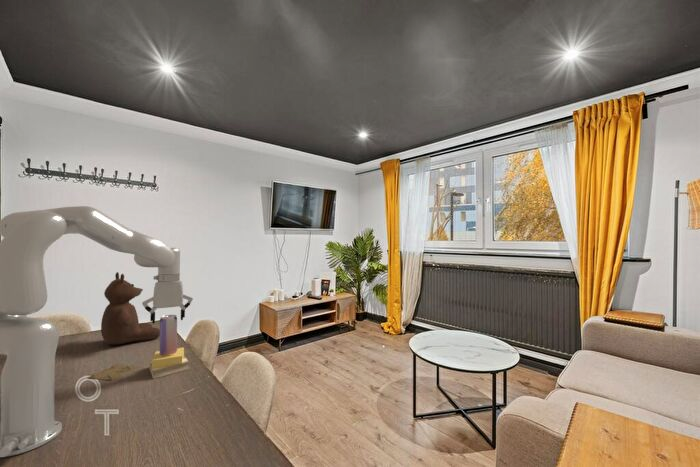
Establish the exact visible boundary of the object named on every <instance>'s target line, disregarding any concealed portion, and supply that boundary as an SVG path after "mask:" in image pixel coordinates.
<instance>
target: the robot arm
mask: <svg viewBox="0 0 700 467" xmlns="http://www.w3.org/2000/svg"><path fill="white" fill-rule="evenodd" d="M68 234H74V235H75V234H77V235H78V234H79V235H82V236H84V237H86V238H87V239H90V240H92V241H94V242H95V243H98V244H100V245H101V246H104V247H106V248H107V249H109V250H111V251H114V252H115V251H116V252H120V253H124V254H130V255H134V256H133V259H134V262H135V264H136V265H138V266H139V267H142V268H143V267H144V268H157V274H156V275H154V276H153V280H154V281H155V280H156V282H155V283H154V289H153V296H152V297H149V298H148V299H146V300H144V301H142V303H141V305H142V306H143V308H144V310H146V311H147V312H149V314H150V319H149V320H150V322H152V323H151V325H153V324H155V322H156V312H155V311H156V310H157V309H167V308H176V307H179V308H181V309H180V321H183V320H184V318H185V317H186V316H185V315H186V309H188V307H189V306H190V305H191V304H192V302H193V300H194V299H193V297H191V296H188V295H186V294H184V290H183V289H184V288H183V287H184V286H183V282H182V281H181V280H180V279H181V276H180V275H181V274H180V273H181V270H180V269H181V249H180V248H179V247H178V248H177V247H170V246H168V245H166V244H165V243H163V242H161V240H158V239H156V238H154V237H152V236H148V235H145V234H144V233H141V232H139V231H136V230H133V229H131V228H129V227H126V226H125V225H123V224H121V223H120V222H118V221H117V220H115V219H114V218H112V217H110V216H109V215H107V214H105V213H104V212H102V211H101V210H99V209H97V208H95V207H91V206H87V205H86V206H84V205H81V206H80V205H79V206H77V205H76V206H64V207H63V206H62V207H56V208H55V207H54V208H47V209H38V210H37V209H36V210H30V211H27V210H26V211H19V212H18V211H17V212H12V213H9V214H6V215H5V216H4V217H3V218H1V220H0V236H1V237H3V239H2V240H1V241H0V355H5V356H6V360H5V362H4V365H3V368H2V370H1V376H0V458H4V457H5V458H6V457H13V456H15V455H19V454H23V453H26V452H30V451H32V450H34V449H37V448H39V447H41V446H43V445H45V444H47V443H49V442H51V441H52V440H53V439H54V438H56V437H57V436H58V435H59V434H60V433H61V432H62V430H63V424H62V422H61V421H58V420H55V382H56V381H55V378H56V377H55V376H56V374H55V368H56V367H55V365H56V364H55V363H56V354H57V349H58V345H59V341H60V330H59V327H58V326H57V325H56V324H55V323H54V322H52V321H50V320H49V319H46V318H40V317H39V318H38V317H30V315H32V314H35V313H37V312H39V311H40V310H42V309H43V308H44V307H45V306H46V305H47V304H46V303H47V302H48V290H47V284H46V276H45V270H44V256H45V255H46V254H45V253H46V252H47V250H48V249H49V248H50V246H51V245H53V244H54V243H55V242H56V241H57V240H60V238H62V236H64V235H68ZM184 299H185V300H187V302H186V303H185V304H183V303H184ZM151 302H152V307H150V306H149V305H148V304H149V303H151ZM28 315H29V316H28Z"/></svg>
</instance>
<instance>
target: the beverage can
mask: <svg viewBox="0 0 700 467" xmlns="http://www.w3.org/2000/svg"><path fill="white" fill-rule="evenodd" d="M159 329H160V336H159V351H160V355H161V356H171V355H174V354H175V353H176V352H177V348H178V317H177V314H167V315H162V316H160V319H159Z"/></svg>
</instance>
